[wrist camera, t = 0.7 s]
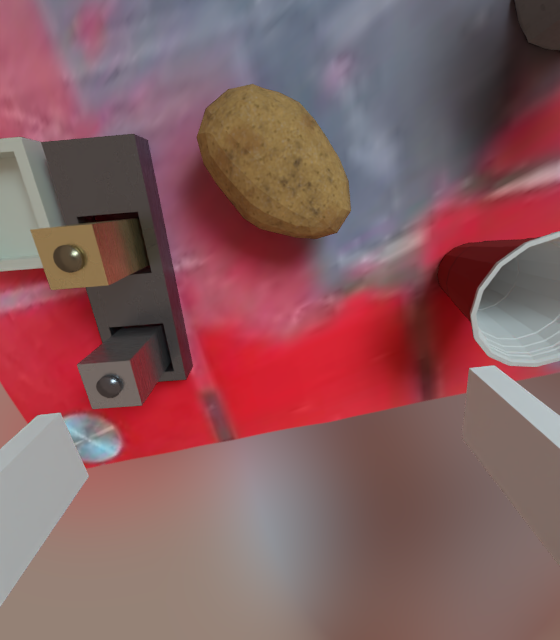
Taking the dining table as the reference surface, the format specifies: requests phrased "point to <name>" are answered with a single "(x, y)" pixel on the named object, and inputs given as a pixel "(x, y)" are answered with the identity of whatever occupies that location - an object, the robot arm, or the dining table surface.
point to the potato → (274, 163)
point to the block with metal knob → (91, 252)
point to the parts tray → (24, 202)
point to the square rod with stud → (126, 366)
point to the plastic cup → (509, 296)
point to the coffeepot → (540, 22)
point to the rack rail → (142, 196)
